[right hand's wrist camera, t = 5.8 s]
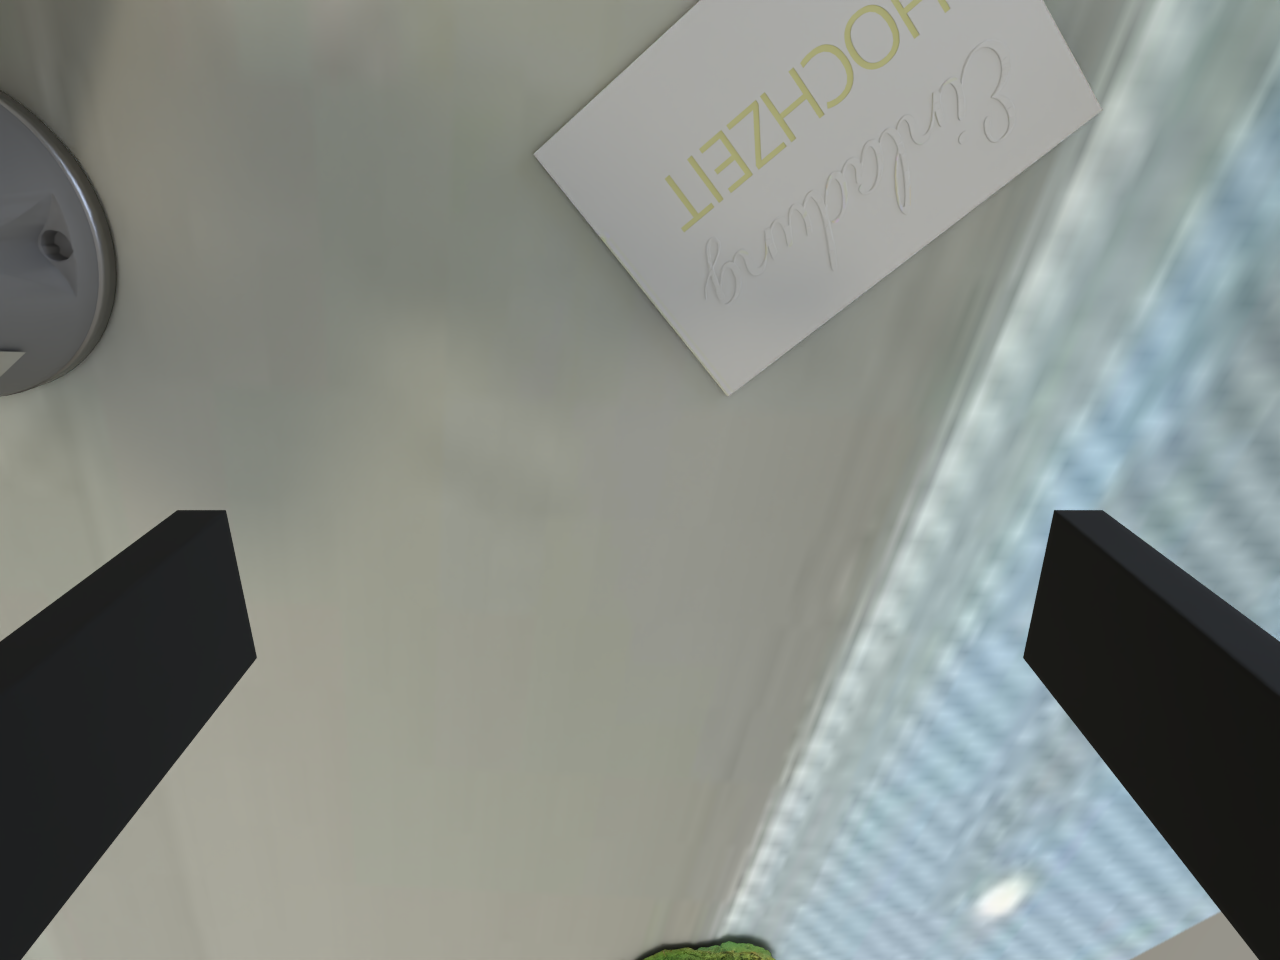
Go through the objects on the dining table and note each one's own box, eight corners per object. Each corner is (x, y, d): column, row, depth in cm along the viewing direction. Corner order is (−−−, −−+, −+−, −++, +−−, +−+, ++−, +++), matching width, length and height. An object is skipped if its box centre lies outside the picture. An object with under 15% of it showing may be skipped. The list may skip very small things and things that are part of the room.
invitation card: (929, -211, 32) (1103, 109, 36) (926, -208, 32) (1100, 110, 36) (533, 154, 37) (728, 397, 41) (533, 154, 37) (727, 396, 41)
